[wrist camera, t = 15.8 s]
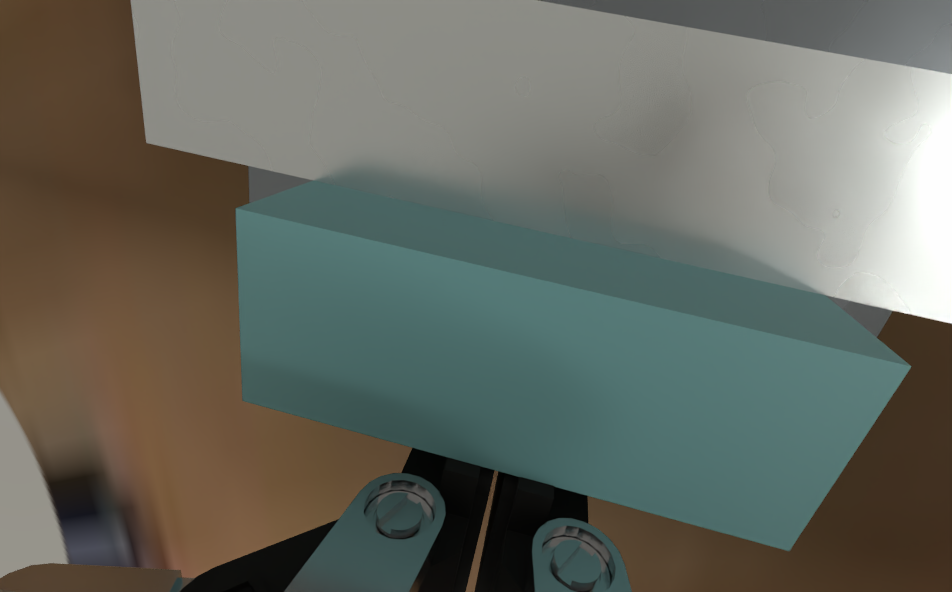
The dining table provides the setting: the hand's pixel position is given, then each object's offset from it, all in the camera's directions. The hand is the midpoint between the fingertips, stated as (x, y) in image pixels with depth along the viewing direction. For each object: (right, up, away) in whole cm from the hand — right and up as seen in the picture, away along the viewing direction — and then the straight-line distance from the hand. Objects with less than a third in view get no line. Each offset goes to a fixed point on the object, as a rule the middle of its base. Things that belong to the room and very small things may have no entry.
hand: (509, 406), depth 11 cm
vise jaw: (+1, +5, 0) cm, 5 cm away
